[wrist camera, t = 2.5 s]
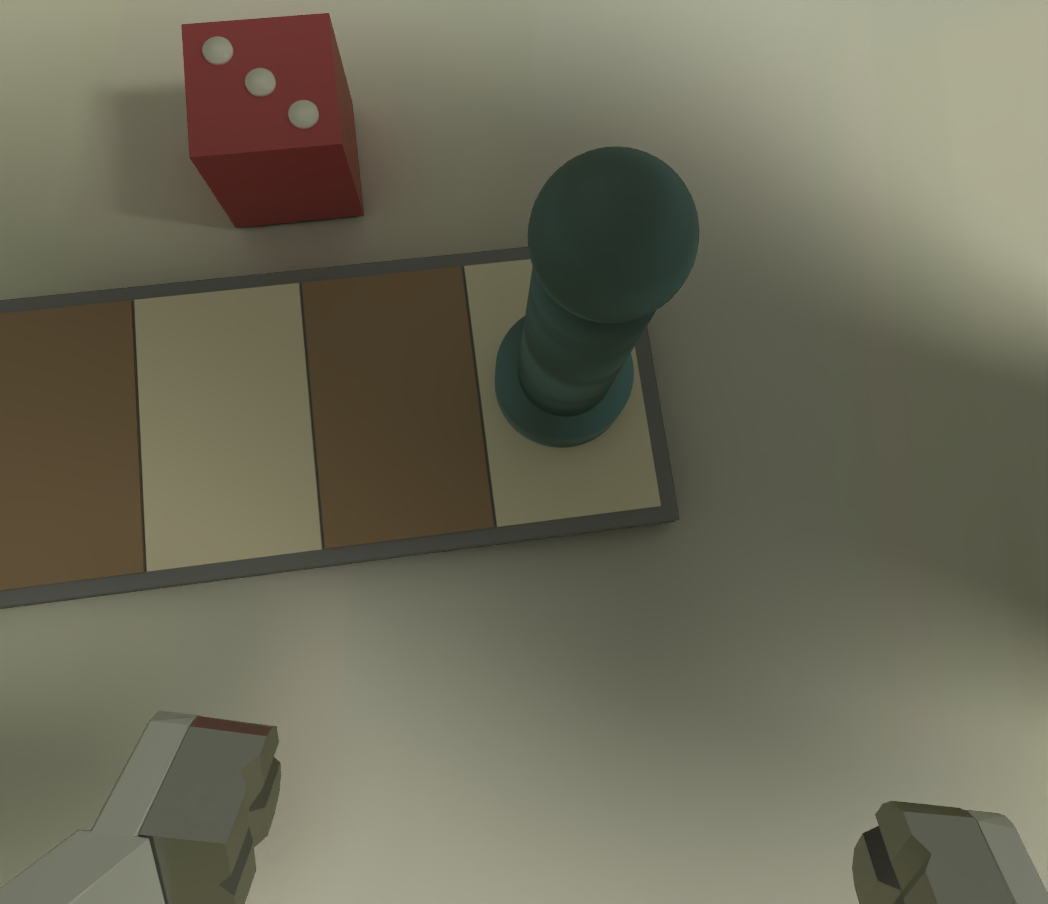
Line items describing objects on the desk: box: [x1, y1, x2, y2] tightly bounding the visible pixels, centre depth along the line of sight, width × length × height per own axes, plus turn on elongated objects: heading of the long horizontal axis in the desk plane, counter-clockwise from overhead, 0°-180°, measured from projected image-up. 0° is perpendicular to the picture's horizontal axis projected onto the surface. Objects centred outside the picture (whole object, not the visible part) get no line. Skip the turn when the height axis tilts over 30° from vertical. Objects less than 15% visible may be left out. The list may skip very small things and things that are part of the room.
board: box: [0, 247, 679, 609], centre depth 26 cm, size 23×10×1 cm, turn 98°
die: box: [182, 13, 364, 228], centre depth 26 cm, size 4×5×5 cm
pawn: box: [495, 147, 699, 448], centre depth 20 cm, size 4×4×12 cm
